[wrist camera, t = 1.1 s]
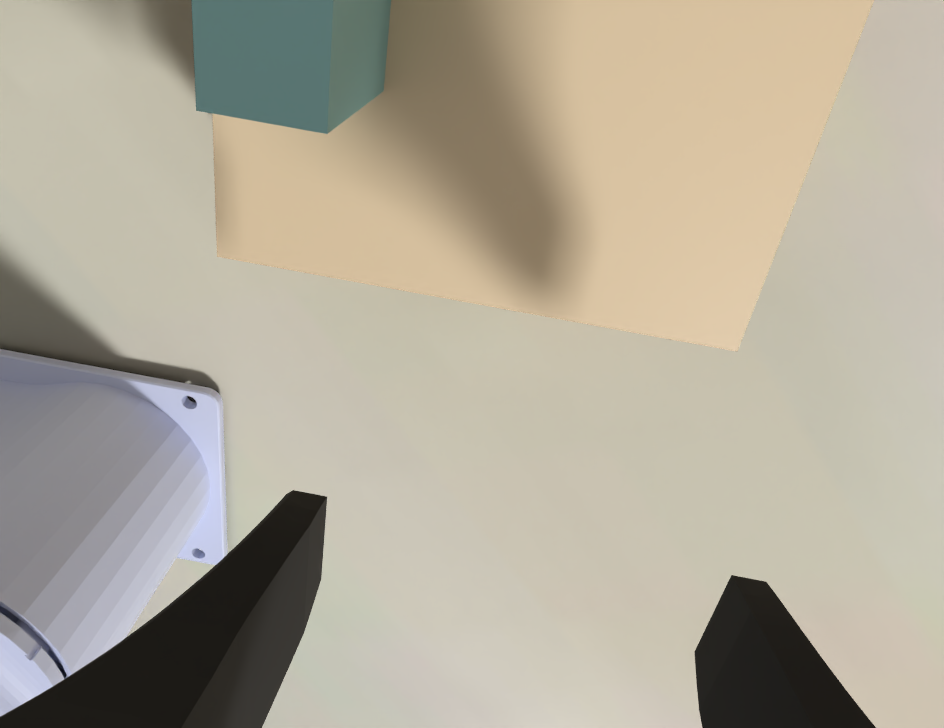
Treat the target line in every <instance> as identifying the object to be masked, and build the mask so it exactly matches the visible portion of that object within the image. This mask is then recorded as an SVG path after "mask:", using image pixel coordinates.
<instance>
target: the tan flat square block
mask: <svg viewBox="0 0 944 728" xmlns="http://www.w3.org/2000/svg"><path fill="white" fill-rule="evenodd" d="M873 2H874V0H192V23H193V46H194V69H195V92H196V111H201V112H207V113H212V115H213V146H214V176H215V207H216V237H217V257H222V258H228V259H233V260H238V261H244V262H249V263H255V264H260V265H266V266H271V267H277V268H282V269H288V270H293V271H299V272H304V273H310V274H315V275H321V276H326V277H332V278H337V279H343V280H348V281H354V282H359V283H365V284H370V285H376V286H381V287H386V288H392V289H397V290H403V291H408V292H414V293H419V294H425V295H430V296H436V297H441V298H447V299H452V300H458V301H463V302H469V303H474V304H480V305H485V306H491V307H496V308H502V309H507V310H513V311H518V312H523V313H529V314H534V315H540V316H545V317H551V318H556V319H562V320H567V321H573V322H578V323H584V324H589V325H595V326H600V327H606V328H611V329H617V330H622V331H628V332H633V333H639V334H644V335H650V336H655V337H661V338H666V339H671V340H677V341H682V342H688V343H693V344H699V345H704V346H710V347H715V348H721V349H726V350H732V351H738V349H739V346H740V343H741V341H742V338H743V336H744V333H745V331H746V328H747V326H748V323H749V320H750V318H751V315H752V313H753V310H754V308H755V305H756V302H757V300H758V297H759V295H760V292H761V290H762V287H763V284H764V282H765V279H766V277H767V274H768V272H769V269H770V266H771V264H772V261H773V259H774V256H775V254H776V251H777V248H778V246H779V243H780V241H781V238H782V236H783V233H784V231H785V228H786V225H787V223H788V220H789V218H790V215H791V213H792V210H793V207H794V205H795V202H796V200H797V197H798V195H799V192H800V189H801V187H802V184H803V182H804V179H805V177H806V174H807V171H808V169H809V166H810V164H811V161H812V159H813V156H814V153H815V151H816V148H817V146H818V143H819V141H820V138H821V135H822V133H823V130H824V128H825V125H826V123H827V120H828V118H829V115H830V112H831V110H832V107H833V105H834V102H835V100H836V97H837V94H838V92H839V89H840V87H841V84H842V82H843V79H844V76H845V74H846V71H847V69H848V66H849V64H850V61H851V58H852V56H853V53H854V51H855V48H856V46H857V43H858V40H859V38H860V35H861V33H862V30H863V28H864V25H865V22H866V20H867V17H868V15H869V12H870V10H871V7H872V5H873Z"/></svg>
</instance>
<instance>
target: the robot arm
mask: <svg viewBox="0 0 944 728" xmlns="http://www.w3.org/2000/svg"><path fill="white" fill-rule="evenodd" d="M187 396H190V397H193V398H194V399H195V400H196V402H197V403H194V402H191V401H190V400H189V399H188V397H187ZM326 504H327V497H325V496H320V495H315V494H310V493H305V492H299V491H294V490H293V491H291V492H289V493H288V494H286V495H285V496H284V498H283V499H282V500H281V501H280V502H279V503H278V504H277V505H276V506H275V507H274V509H273V510H272V511H271V512H270V513H269V514H268V515H267V516H266V517H265V518H264V519H263V520H262V521H261V522H260V523H259V524H258V525H257V526H256V527H255V528H254V529H253V530H252V531H251V532H250V533H249V534H248V535H247V536H246V537H245V538H244V539H243V540H242V541H241V542H240V543H239V544H238V545H237V546H236V547H235V548H234V549H233V550H231V551H230V552H229V553H228V554H227V552H228V550H227V519H226V488H225V456H224V425H223V401H222V398H221V396H220V395H219V393H218V392H216V391H215V390H214V389H211V388H208V387H203V386H198V385H192V384H187V383H181V382H176V381H171V380H165V379H160V378H154V377H149V376H144V375H138V374H133V373H127V372H122V371H117V370H111V369H106V368H100V367H95V366H90V365H84V364H79V363H73V362H68V361H63V360H57V359H52V358H46V357H41V356H36V355H30V354H25V353H19V352H14V351H9V350H3V349H0V728H262V726H263V724H264V721H265V719H266V717H267V715H268V713H269V710H270V708H271V706H272V704H273V701H274V699H275V697H276V695H277V692H278V690H279V688H280V686H281V683H282V681H283V679H284V677H285V675H286V672H287V670H288V668H289V665H290V663H291V661H292V659H293V656H294V654H295V652H296V650H297V647H298V645H299V643H300V640H301V638H302V636H303V634H304V631H305V628H306V625H307V622H308V619H309V615H310V612H311V609H312V606H313V603H314V600H315V597H316V593H317V590H318V587H319V584H320V581H321V573H322V559H323V545H324V531H325V517H326ZM199 549H201V550H202V551H201V550H199ZM176 558H181V559H186V560H191V561H197V562H202V563H207V564H216V565H215V566H214V567H213V568H212V569H211V570H210V571H209V572H208V573H207V574H205V575H204V576H203V577H202V578H201V579H200V580H198V581H197V582H196V583H195V584H194V585H192V586H191V587H190V588H189V589H188V590H186V591H185V592H184V593H183V594H182V595H180V596H179V597H178V598H177V599H176V600H174V601H173V602H172V603H171V604H170V605H169V606H167V607H166V608H165V609H164V610H162V611H161V612H160V613H158V614H157V615H156V616H155V617H153V618H152V619H151V620H149V621H148V622H147V623H145V624H144V625H143V626H141V627H140V628H139V629H137V630H136V631H135V632H133V633H132V634H131V635H129V636H128V637H126V636H127V635H128V633H129V631H130V630H131V628H132V627H133V625H134V624H135V622H136V620H137V619H138V617H139V616H140V614H141V613H142V611H143V609H144V608H145V606H146V605H147V603H148V602H149V600H150V598H151V597H152V595H153V594H154V592H155V591H156V589H157V587H158V586H159V584H160V583H161V581H162V580H163V578H164V576H165V575H166V573H167V572H168V570H169V569H170V567H171V565H172V564H173V562H174V561H175V559H176ZM695 664H696V679H697V691H698V701H699V711H700V716H701V722H702V727H703V728H876V727H875V726H874V725H873V724H872V722H871V721H870V720H869V719H868V717H867V716H866V715H865V714H864V712H863V711H862V710H861V709H860V707H859V706H858V705H857V704H856V702H855V701H854V700H853V699H852V697H851V696H850V695H849V693H848V692H847V691H846V690H845V688H844V687H843V686H842V684H841V683H840V682H839V680H838V679H837V678H836V676H835V675H834V674H833V672H832V671H831V670H830V668H829V667H828V666H827V664H826V663H825V662H824V660H823V659H822V658H821V656H820V655H819V654H818V652H817V651H816V649H815V648H814V647H813V645H812V644H811V643H810V641H809V640H808V638H807V637H806V636H805V634H804V633H803V632H802V630H801V629H800V627H799V626H798V625H797V623H796V622H795V620H794V619H793V618H792V616H791V615H790V613H789V612H788V611H787V609H786V608H785V607H784V605H783V604H782V602H781V601H780V600H779V598H778V597H777V596H776V594H775V593H774V592H773V590H772V589H771V588H770V586H769V585H768V584H767V582H764V581H759V580H754V579H748V578H743V577H738V576H733V575H732V576H731V578H730V580H729V582H728V584H727V586H726V588H725V590H724V592H723V594H722V596H721V598H720V600H719V602H718V605H717V607H716V609H715V611H714V613H713V615H712V617H711V619H710V621H709V623H708V625H707V627H706V629H705V631H704V633H703V636H702V638H701V640H700V642H699V644H698V646H697V648H696V650H695Z"/></svg>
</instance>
